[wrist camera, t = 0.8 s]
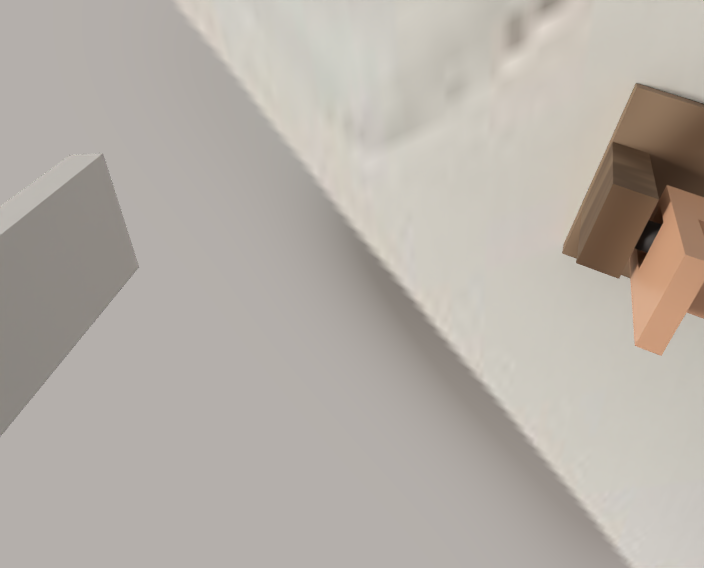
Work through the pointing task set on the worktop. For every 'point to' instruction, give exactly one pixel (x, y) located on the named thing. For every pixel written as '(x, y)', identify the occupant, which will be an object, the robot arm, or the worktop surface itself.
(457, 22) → the worktop surface
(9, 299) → the robot arm
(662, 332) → the tan wooden l-shaped block
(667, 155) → the brown rod stand
